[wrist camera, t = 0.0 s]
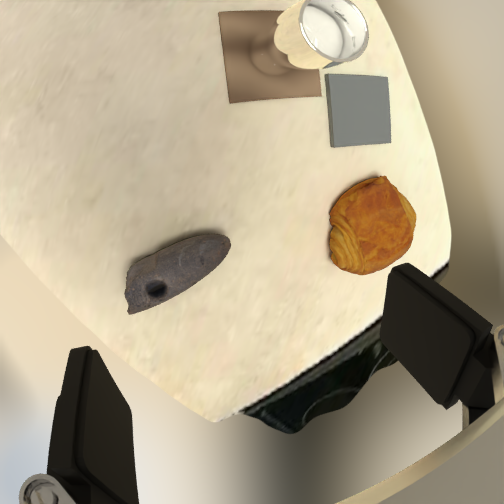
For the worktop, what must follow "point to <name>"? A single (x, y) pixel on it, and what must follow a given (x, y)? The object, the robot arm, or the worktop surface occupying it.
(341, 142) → the rubber mat
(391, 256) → the croissant
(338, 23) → the beer glass
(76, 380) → the robot arm
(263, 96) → the dot tile
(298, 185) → the worktop surface
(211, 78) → the worktop surface
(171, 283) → the perforated stone tool
